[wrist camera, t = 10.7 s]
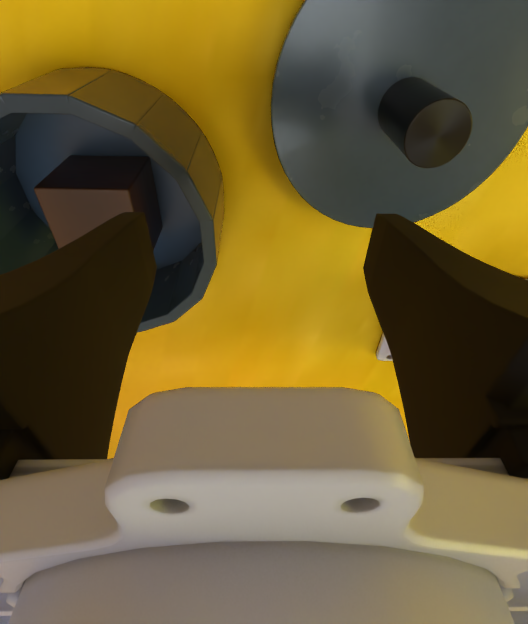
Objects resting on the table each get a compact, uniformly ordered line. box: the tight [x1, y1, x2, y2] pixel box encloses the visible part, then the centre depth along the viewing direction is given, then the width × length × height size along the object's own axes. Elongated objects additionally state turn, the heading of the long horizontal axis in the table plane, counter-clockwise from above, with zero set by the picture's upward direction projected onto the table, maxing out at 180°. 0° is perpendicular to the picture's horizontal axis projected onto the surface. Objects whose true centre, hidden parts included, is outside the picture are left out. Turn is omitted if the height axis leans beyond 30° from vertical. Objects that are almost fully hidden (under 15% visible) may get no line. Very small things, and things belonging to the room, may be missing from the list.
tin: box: [0, 67, 224, 332], centre depth 18 cm, size 11×11×5 cm
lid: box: [271, 0, 528, 228], centre depth 15 cm, size 12×12×5 cm
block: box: [34, 155, 162, 250], centre depth 18 cm, size 4×4×4 cm
